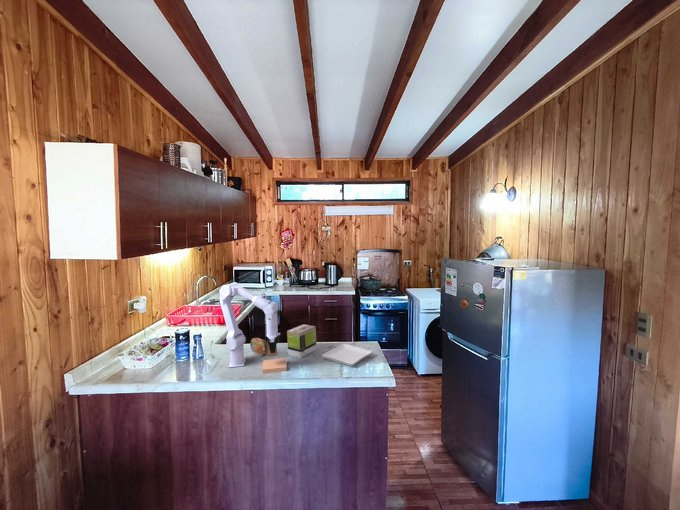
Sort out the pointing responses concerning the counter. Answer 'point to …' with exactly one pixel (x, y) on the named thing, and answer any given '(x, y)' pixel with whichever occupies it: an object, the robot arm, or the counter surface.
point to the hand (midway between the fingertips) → (272, 351)
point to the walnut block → (272, 353)
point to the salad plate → (347, 354)
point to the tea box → (301, 340)
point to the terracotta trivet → (274, 365)
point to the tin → (259, 346)
